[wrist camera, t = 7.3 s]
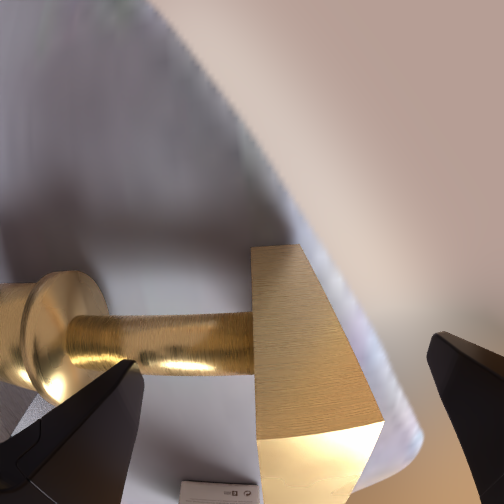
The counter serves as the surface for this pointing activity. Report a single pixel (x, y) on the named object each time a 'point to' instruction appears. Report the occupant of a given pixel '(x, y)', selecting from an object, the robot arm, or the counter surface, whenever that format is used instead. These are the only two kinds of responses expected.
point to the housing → (13, 407)
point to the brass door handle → (216, 364)
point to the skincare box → (218, 493)
